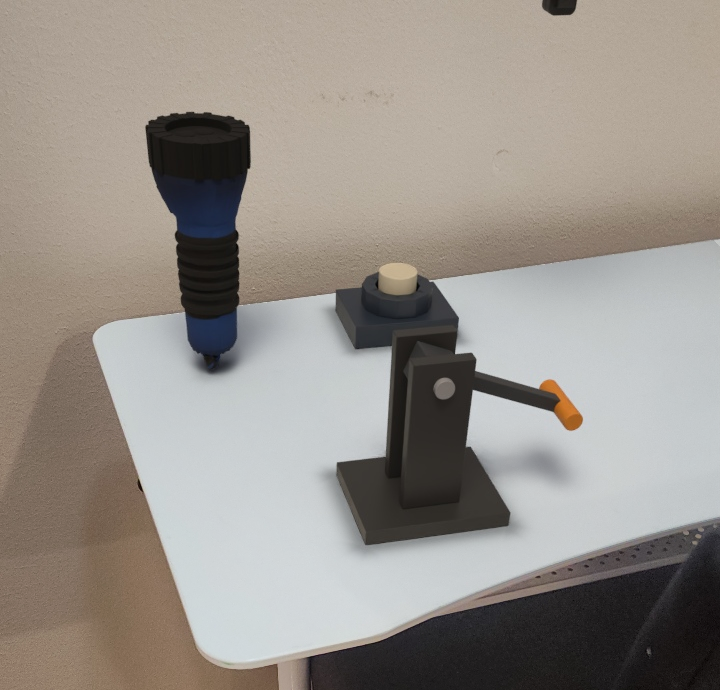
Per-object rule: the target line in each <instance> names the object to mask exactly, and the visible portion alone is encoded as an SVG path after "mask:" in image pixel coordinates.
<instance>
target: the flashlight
mask: <svg viewBox="0 0 720 690" xmlns="http://www.w3.org/2000/svg"><path fill="white" fill-rule="evenodd" d="M147 123H148V124H145V125H144V126H145V127H144V128H145V137H146V138H145V139H146V147H147V149H146V150H147V156H148V157H147V159H148V164H149V168H151V173H152V177H153V180H154V182H155V185H156V186H155V187H156V189H157V191H158V193H159V195H160V197H161V199H162V200H163V202H164V204H165V206H166V208H167V209H168V211H169V213H170V214H172V215H173V216H174V217H175V220H176V221H175V222H176V230H175V232H174V240H175V241H176V245H175V255H176V256H177V258H176V266H177V269H178V271H177V272H178V273H177V276H178V281H179V282H178V287H179V291H180V293H181V295H180V305H181V306H182V308H183V309H184V317H185V325H186V337H187V341H188V343H189V345H190V347H191V348H192V349H191V350H192V351H194V352H195V353H197V354H198V355H199V354H201V355H202V356H203V360H204V363H205V367H206V368H208V369H209V370H215V369H217V368H218V366H219V364H220V361H221V356H222V355H224V354H226V353H227V352H230V350H231V349H232V348H234V346H235V344H236V343H237V340H238V306H239V305H240V295H239V293H238V292H239V290H240V270H239V268H240V258H239V255H240V246H239V244H238V241H239V240H240V234H239V233H240V232H239V231H238V230H237V226H236V223H237V222H236V221H237V216H238V212H239V209H240V204H241V201H242V195H243V192H244V189H245V185H246V182H247V179H248V170H250V169H251V165H252V164H251V163H252V156H251V155H252V154H251V153H252V152H251V127H250V125H249V124H246V122H245V121H244V120H242V119H236V118H235V116H232V115H222V114H221V115H220V114H213V113H212V112H210V111H209V112H208V111H204V112H197V113H196V112H194V111H186V112H185V113H179V112H173V113H172V112H171V113H169V115H158V116H156V118H155V119H150V120H148V121H147Z"/></svg>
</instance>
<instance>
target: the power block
mask: <svg viewBox="0 0 720 690" xmlns="http://www.w3.org/2000/svg"><path fill="white" fill-rule="evenodd" d="M378 281H379V271H377V272H375V273H372V274H370V275H367V276H366V277H365V278H364V280H363V281H362V283H361V287H351V288H349V287H348V288H338V289H335V312H336V315H337V317H338V318H339V321H340V322H341V324H342V326H343V328H344V330H345V331H346V333H347V336H348V337H349V339H350V341H351V343H352V345H353V347H354V349H355V350H356V349H369V348H379V347H388V346H389V347H390V346H392V337H393V330H403V329H414V328H425V327H435V326H446V325H454V327H455V328H456V330H457V331H459V323H460V322H459V321H460V317H459V315H458V314H457V312H456V310H454V308H453V307H452V306H451V304H450V302H449V301H448V300H447V298H446V297H445V295H444V294H443V293H442V291H441V290H440V289H439V287H438V286H437V284H436V283H435V281H430V280H429V279H428V278H427V277H425V276H422V275H421V274H418V273H417V286H416V292H414V293H411V294H406V295H393V294H386V293H384V292H382V291H380V290H379V289H378ZM457 334H458V332H457Z"/></svg>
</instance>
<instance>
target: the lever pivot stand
mask: <svg viewBox="0 0 720 690" xmlns="http://www.w3.org/2000/svg"><path fill="white" fill-rule="evenodd" d="M458 331H459V330H458ZM458 331H457V330H456V328H455V327H454V325H446V326H435V327H425V328H414V329H403V330H393V337H392V345H391V357H390V371H389V373H390V374H389V390H388V391H389V392H388V406H387V408H388V409H387V425H386V443H385V445H386V446H385V456H378V457H370V458H362V459H354V460H353V459H352V460H345V461H336V477H337V480H338V482H339V485H340V487H341V489H342V492H343V494H344V496H345V499H346V501H347V504H348V506H349V509H350V511H351V514H352V516H353V519H354V521H355V523H356V525H357V528H358V531H359V533H360V535H361V537H362V540H363V542H364V545H365V546H367V545H368V546H369V545H376V544H382V543H383V544H384V543H390V542H398V541H404V540H411V539H421V538H426V537H435V536H440V535H448V534H456V533H464V532H471V531H478V530H486V529H492V528H501V527H508V526H509V523H510V518H511V511H510V509H509V508H508V506H507V504H506V503H505V501H504V499H503V498H502V496H501V494H500V493H499V491H498V489H497V488H496V486H495V484H494V483H493V481H492V479H491V477H490V476H489V475H488V473H487V471H486V470H485V467H484V466H483V465H482V463H481V461H480V459H479V458H478V456H477V455H476V453H475V451H474V450H473V448H472V447H471V446H467V441H468V435H469V434H468V432H469V425H470V417H471V410H472V401H473V393H474V390H473V385H474V377H475V371H476V368H477V357H476V356H475V354H474V353H473V352H463V353H462V352H461V353H456V352H457V351H456V350H457V341H458V333H457V332H458ZM417 341H420V342H423V343H426V344H430V345H433V346H437V347H440V348H444V349H447V350H450V351H452V352H453V354H451V355H441V356H431V357H420V358H410V360H409V357H410V355H411V353H412V351H413V349H414V347H415V344H416V342H417ZM408 360H409V373H408V379H407V377H406V375H405V373H404V372H403V371H404V368H405V366H406V364H407V362H408Z"/></svg>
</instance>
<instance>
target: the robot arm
mask: <svg viewBox="0 0 720 690" xmlns="http://www.w3.org/2000/svg"><path fill="white" fill-rule="evenodd" d="M541 1H542V2H541V7H542V9H543V11H545V12H546V13H548V14H550V15H551V16H554V17H555V16H556V17H557V16H572V15H573V14H574V13H575V11H576V9H577V4H578V0H541Z"/></svg>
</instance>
